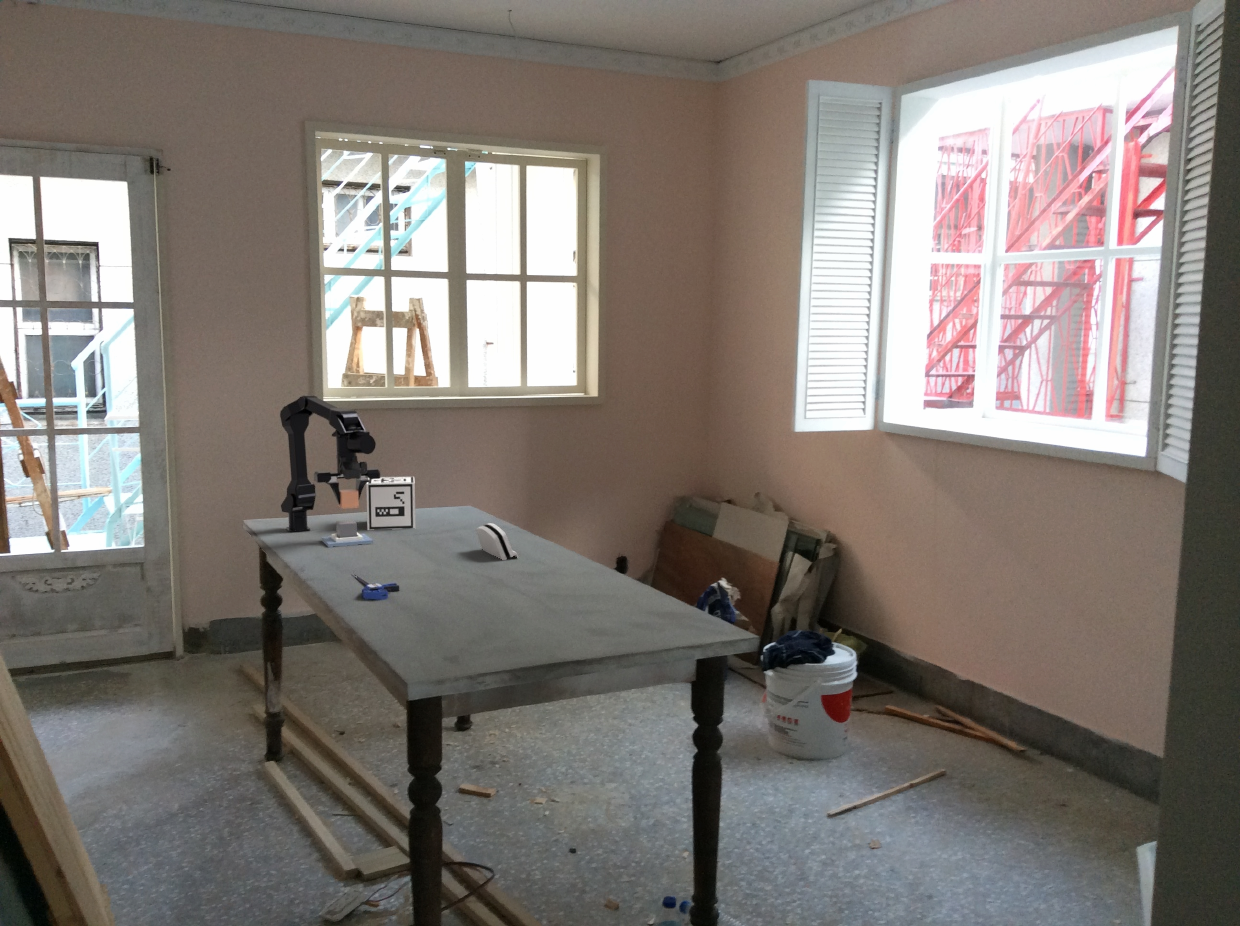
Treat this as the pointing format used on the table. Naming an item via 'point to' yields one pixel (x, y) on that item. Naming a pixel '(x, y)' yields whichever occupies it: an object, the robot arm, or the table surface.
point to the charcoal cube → (346, 529)
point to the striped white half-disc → (495, 541)
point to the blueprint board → (346, 540)
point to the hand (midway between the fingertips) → (348, 503)
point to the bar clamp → (377, 590)
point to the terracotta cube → (348, 499)
